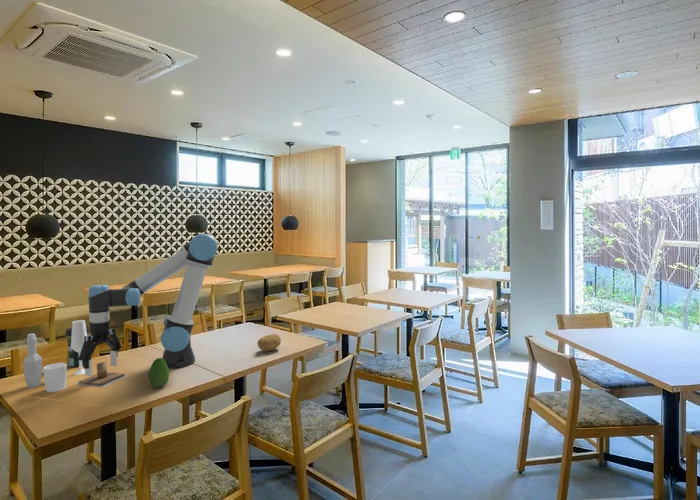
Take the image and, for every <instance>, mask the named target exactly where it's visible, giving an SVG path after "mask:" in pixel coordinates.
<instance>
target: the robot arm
mask: <svg viewBox="0 0 700 500" xmlns="http://www.w3.org/2000/svg"><path fill="white" fill-rule="evenodd" d="M217 252H218V242H217V241H216V239H215V238H214V237H213V236H212V235H210V234H208V233H198V234H196V235H194V236H193V237H192V238H191V240H190V241H189V242H187V243H186V244H184V245H183V246H182V248H181V250H179V251H177V252H176V253H175V254H172V256H170V257H169V258H166V259H165V260H163V261H162V262H160V263H159V264H158V265H155V266H154V267H152V268H151V269H149V270H148V271H146V272H145V273H144V274H141V275H140V276H139V277H137V278H135V279H134V280H132V281H131V282H129V283H128V284H125V285H124V286H123V287H122V288H115V289H111V288H109V285H108V284H95V285H91V286H89V287H88V296H87V298H88V299H87V300H88V315H89V316H88V317H89V322H90V323H89V331H90V335H89V336H85V337H84V344H83V347H82V350H81V353H80V356H79V360H81V361H83V363H84V365H83V369H84V370H85V374H84V376H87V377H90V376H93V368H92V364H93V363H92V361H91V360H92V356H93V353H95V350H96V348H97V347H98V346H99V345H100V344H102V343H105V344H106V345H107V346H108V347H109V348H110V349H111V350H110V353H109V354H110V366H114V367H117V366H118V356H119V355H118V351H120V349H121V348H122V344H121V342H120V340H119V338H118V335H117V334H116V333H117V332H116V329H115V328H111V321H110V320H111V317H110V315H111V314H110V308H113V307H132V306H133V307H134V306H138V305H140V302H141V296H143V295H144V294H145V293H146V292H149V291H150V290H151V289H153V288H155V287H156V286H158V285H159V284H161V283H163V282H164V281H165V280H167V279H169V278H170V277H172V276H173V275H175V274H176V273H178V272H179V271H181V270H182V269H184V268H185V267H186V268H185V272H184V275H183V278H182V281H181V284H180V285H181V286H180V288H179V292H178V295H177V298H176V301H175V304H174V308H173V310H172V313H171V315H169V316H166V317H164V318H163V331H162V333H161V335H160V342H161V345H162V346H163V349H164V351H163V354H162V357H161V358H163V359H164V360H165V362H166V364H167V367H168V368H170V369H171V368H172V369H173V368H183V367H187V366H190V365H193V364H194V363H195V362H196V357H195V354H194V351H193V348H192V343H191V334H192V330H193V328H194V327H193V326H194V325H195V322H194V320H193V316H194V312H195V309H196V307H197V304H198V303H197V302H198V301H199V297H200V293H201V290H202V286H203V284H204V280H205V277H206V274H207V271H208V268H211V267H212V265H213V262H214V259H215V256H216V254H217ZM90 358H91V360H90Z"/></svg>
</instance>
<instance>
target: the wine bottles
mask: <svg viewBox="0 0 700 500" xmlns="http://www.w3.org/2000/svg"><path fill="white" fill-rule="evenodd" d="M86 331H87V336H91V331H90V326H88V325H86ZM71 336H72V327H69V328H66V329H65V339H66V340H67V356H66V357H67V358H66V359H67V360H66V364H67V366H68V367H70V368H73V367H74V368H77V366H78V367H79V353H78V352H76V351H74V350H73V349H72V348H71ZM90 360H91V362H92V357H91V358H90ZM82 366H84V363H83V361H82Z"/></svg>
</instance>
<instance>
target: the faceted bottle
mask: <svg viewBox="0 0 700 500" xmlns="http://www.w3.org/2000/svg"><path fill="white" fill-rule="evenodd" d="M26 346H27V355H26V357H25V358H24V360H23V361H22V362H23V373H24V379H25V384H26V388H28V389H33V388H36V387H39V386H41V384H42V377H43V376H42V375H43V374H42V373H43V372H42V371H43V357H42V356H41V355H39V353H37V336H36V334H35V333H29V334H27V336H26Z"/></svg>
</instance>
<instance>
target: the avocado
mask: <svg viewBox="0 0 700 500" xmlns="http://www.w3.org/2000/svg"><path fill="white" fill-rule="evenodd" d="M147 378H148V381H149V383H150V384H151V386H153V387H155V388H162V387H164V386H165V385H166V384H167V383H168V381H169V378H170V369H169V367H167V364H166V362H165V360H164V359H163V358H162V357H158V358H155V360H153V362H152V364H151V365H150V368H149V371H148V377H147Z"/></svg>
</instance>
